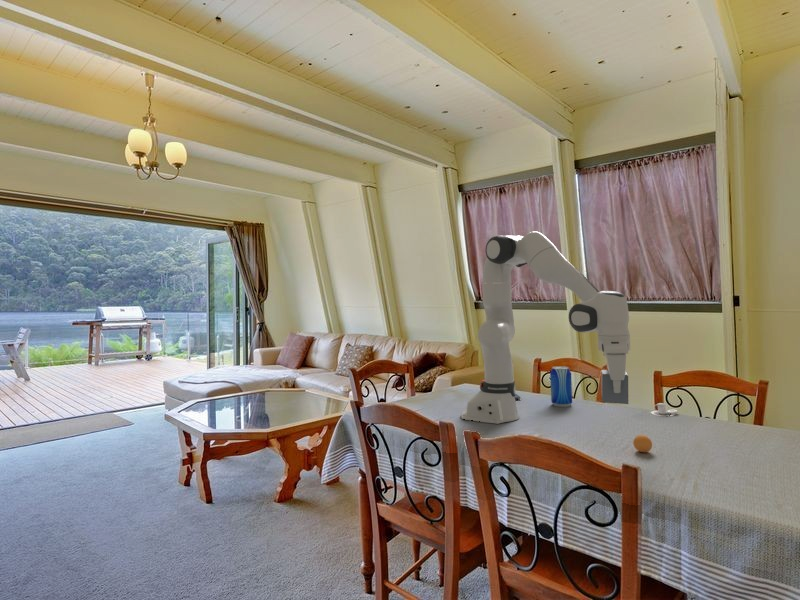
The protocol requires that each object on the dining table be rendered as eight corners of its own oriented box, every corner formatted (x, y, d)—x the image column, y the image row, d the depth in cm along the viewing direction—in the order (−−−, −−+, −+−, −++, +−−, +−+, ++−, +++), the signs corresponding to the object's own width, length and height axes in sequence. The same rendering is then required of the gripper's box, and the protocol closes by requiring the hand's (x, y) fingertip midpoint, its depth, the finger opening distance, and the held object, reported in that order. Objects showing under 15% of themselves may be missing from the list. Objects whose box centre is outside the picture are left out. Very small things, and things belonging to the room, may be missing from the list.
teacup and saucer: (679, 414, 175) (679, 403, 175) (673, 419, 170) (673, 408, 170) (654, 410, 182) (654, 400, 182) (647, 415, 176) (647, 404, 176)
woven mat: (515, 396, 217) (515, 391, 217) (521, 401, 206) (521, 397, 206) (493, 397, 216) (493, 393, 216) (498, 402, 206) (498, 398, 206)
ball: (655, 441, 134) (650, 457, 135) (652, 436, 139) (647, 451, 139) (637, 435, 136) (632, 450, 136) (635, 430, 140) (630, 445, 141)
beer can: (573, 407, 190) (572, 369, 190) (552, 407, 192) (551, 369, 191) (570, 402, 198) (569, 365, 198) (550, 402, 200) (548, 365, 200)
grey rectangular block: (602, 402, 138) (602, 373, 138) (601, 397, 144) (601, 369, 144) (628, 404, 135) (628, 375, 135) (626, 398, 142) (626, 370, 141)
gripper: (601, 340, 150) (603, 382, 150) (604, 348, 131) (606, 396, 131) (622, 340, 148) (624, 382, 148) (628, 348, 129) (630, 397, 129)
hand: (616, 389), depth 139 cm, fingers closed on grey rectangular block, 7 cm apart
